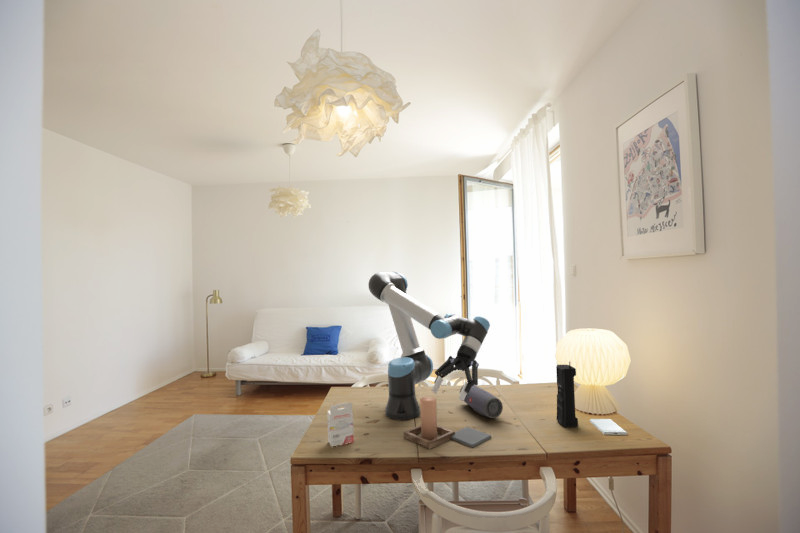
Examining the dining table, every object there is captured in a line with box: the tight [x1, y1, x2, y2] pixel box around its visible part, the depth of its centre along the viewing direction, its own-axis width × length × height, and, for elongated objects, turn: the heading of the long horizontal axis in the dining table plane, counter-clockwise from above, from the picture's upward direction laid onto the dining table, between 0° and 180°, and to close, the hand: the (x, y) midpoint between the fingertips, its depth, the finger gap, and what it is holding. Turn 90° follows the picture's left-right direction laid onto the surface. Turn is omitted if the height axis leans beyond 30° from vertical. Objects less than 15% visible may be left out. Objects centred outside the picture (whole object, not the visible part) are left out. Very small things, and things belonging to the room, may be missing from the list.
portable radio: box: [556, 362, 579, 428], centre depth 148 cm, size 8×6×25 cm
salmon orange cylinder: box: [419, 396, 438, 441], centre depth 139 cm, size 6×6×14 cm
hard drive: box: [589, 418, 628, 436], centre depth 142 cm, size 2×8×12 cm
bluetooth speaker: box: [459, 384, 504, 419], centre depth 163 cm, size 23×9×10 cm, turn 18°
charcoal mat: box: [450, 426, 492, 449], centre depth 137 cm, size 11×11×1 cm
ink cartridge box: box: [326, 402, 355, 447], centre depth 137 cm, size 9×5×15 cm, turn 114°
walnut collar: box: [403, 424, 456, 449], centre depth 139 cm, size 13×13×2 cm
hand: (446, 395), depth 144 cm, fingers open, 13 cm apart
